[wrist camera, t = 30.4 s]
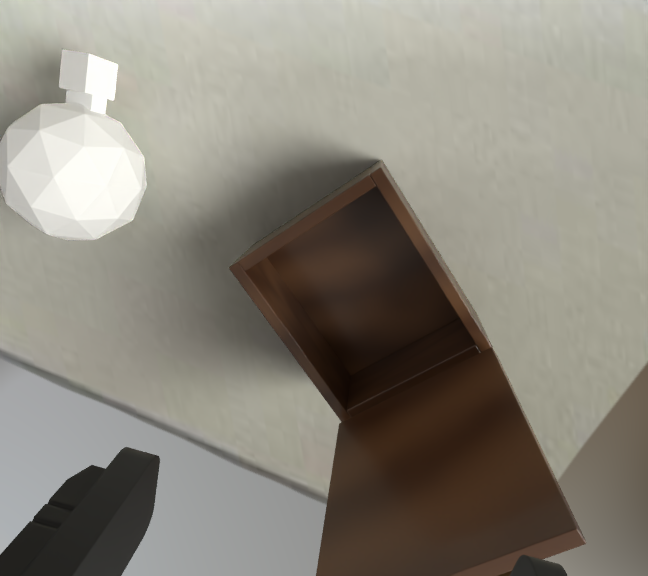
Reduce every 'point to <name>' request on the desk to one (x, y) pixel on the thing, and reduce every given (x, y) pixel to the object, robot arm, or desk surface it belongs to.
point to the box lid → (443, 483)
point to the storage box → (361, 295)
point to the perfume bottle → (74, 158)
